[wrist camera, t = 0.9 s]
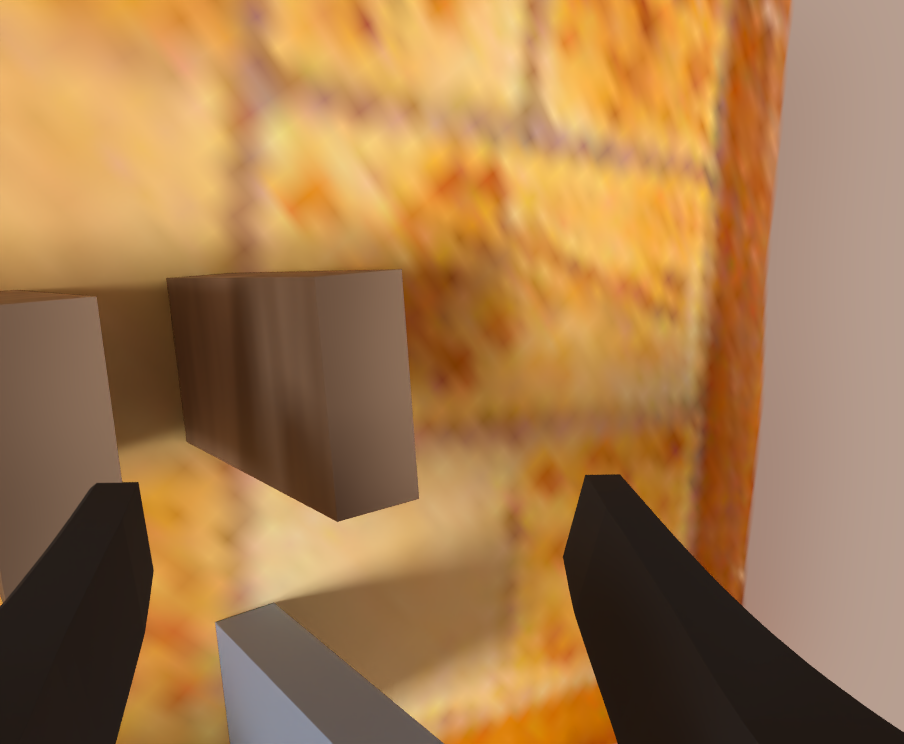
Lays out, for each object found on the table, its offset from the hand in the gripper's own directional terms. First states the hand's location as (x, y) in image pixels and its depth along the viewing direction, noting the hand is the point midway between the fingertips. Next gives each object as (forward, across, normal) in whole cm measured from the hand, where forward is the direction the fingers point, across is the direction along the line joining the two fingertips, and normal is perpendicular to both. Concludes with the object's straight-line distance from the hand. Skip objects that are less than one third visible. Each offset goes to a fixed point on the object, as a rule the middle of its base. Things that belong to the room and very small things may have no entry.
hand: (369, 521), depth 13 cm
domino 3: (+7, +3, +15) cm, 16 cm away
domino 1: (+9, +10, +4) cm, 14 cm away
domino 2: (+12, +4, +5) cm, 13 cm away
